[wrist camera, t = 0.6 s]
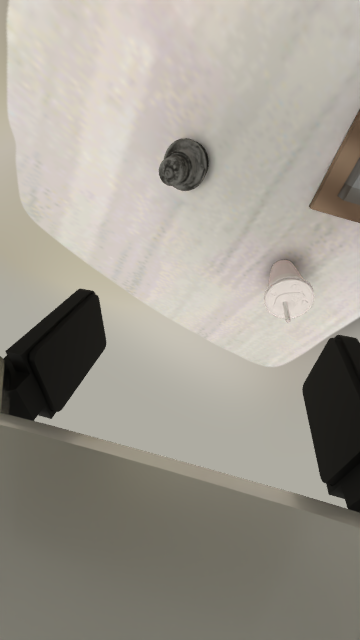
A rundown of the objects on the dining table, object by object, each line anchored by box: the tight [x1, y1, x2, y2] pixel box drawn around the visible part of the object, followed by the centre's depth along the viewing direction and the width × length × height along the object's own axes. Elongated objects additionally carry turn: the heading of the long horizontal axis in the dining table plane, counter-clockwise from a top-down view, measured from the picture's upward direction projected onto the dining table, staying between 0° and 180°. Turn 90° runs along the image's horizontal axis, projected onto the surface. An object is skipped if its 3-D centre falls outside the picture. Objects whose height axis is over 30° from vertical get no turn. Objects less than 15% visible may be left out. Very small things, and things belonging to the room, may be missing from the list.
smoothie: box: [264, 260, 314, 323], centre depth 35 cm, size 6×6×14 cm
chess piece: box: [159, 138, 208, 191], centre depth 30 cm, size 6×6×12 cm
